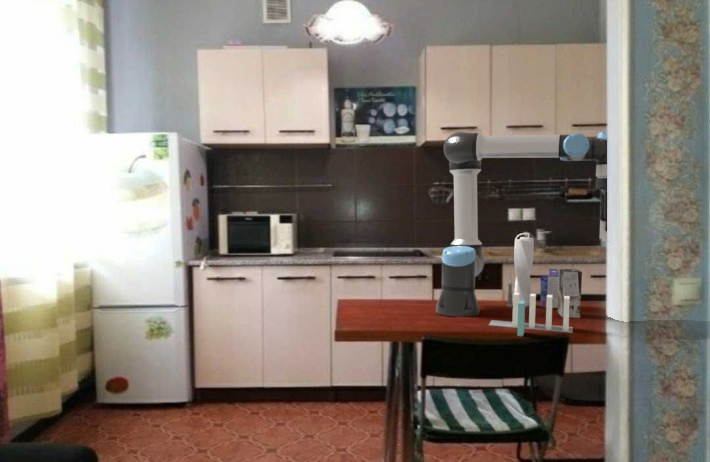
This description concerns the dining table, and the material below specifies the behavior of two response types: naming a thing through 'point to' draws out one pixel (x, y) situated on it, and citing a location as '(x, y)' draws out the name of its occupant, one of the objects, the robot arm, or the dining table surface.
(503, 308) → the dining table surface
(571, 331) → the gray flat rectangular plate
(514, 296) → the domino
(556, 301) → the ink cartridge box
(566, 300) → the domino
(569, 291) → the coffee box
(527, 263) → the skyscraper
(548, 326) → the domino
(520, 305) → the teal domino
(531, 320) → the domino
